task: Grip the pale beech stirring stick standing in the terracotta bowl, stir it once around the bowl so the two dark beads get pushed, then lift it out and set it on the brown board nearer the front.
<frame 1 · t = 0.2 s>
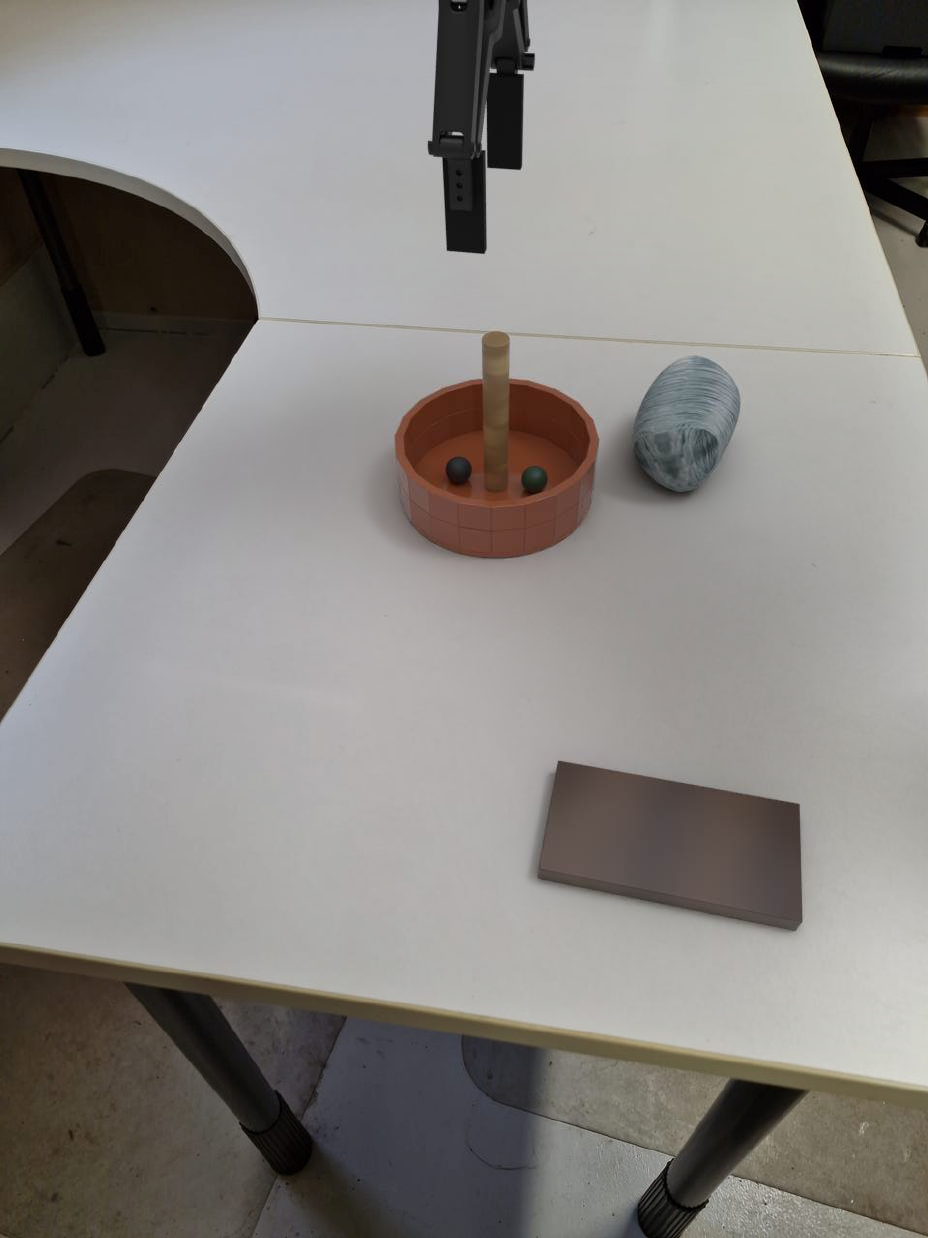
hand: (486, 206, 64), 24 cm above the table, tool pointing down, fingers open, 13 cm apart
bowl: (496, 489, 79), on the table
blue yarn skein: (677, 456, 81), on the table
bead b: (534, 479, 77), point 2 cm above the table, touching bowl
stick: (496, 484, 78), point 1 cm above the table, touching bowl
bead a: (458, 469, 78), point 2 cm above the table, touching bowl
brown board: (668, 845, 56), on the table
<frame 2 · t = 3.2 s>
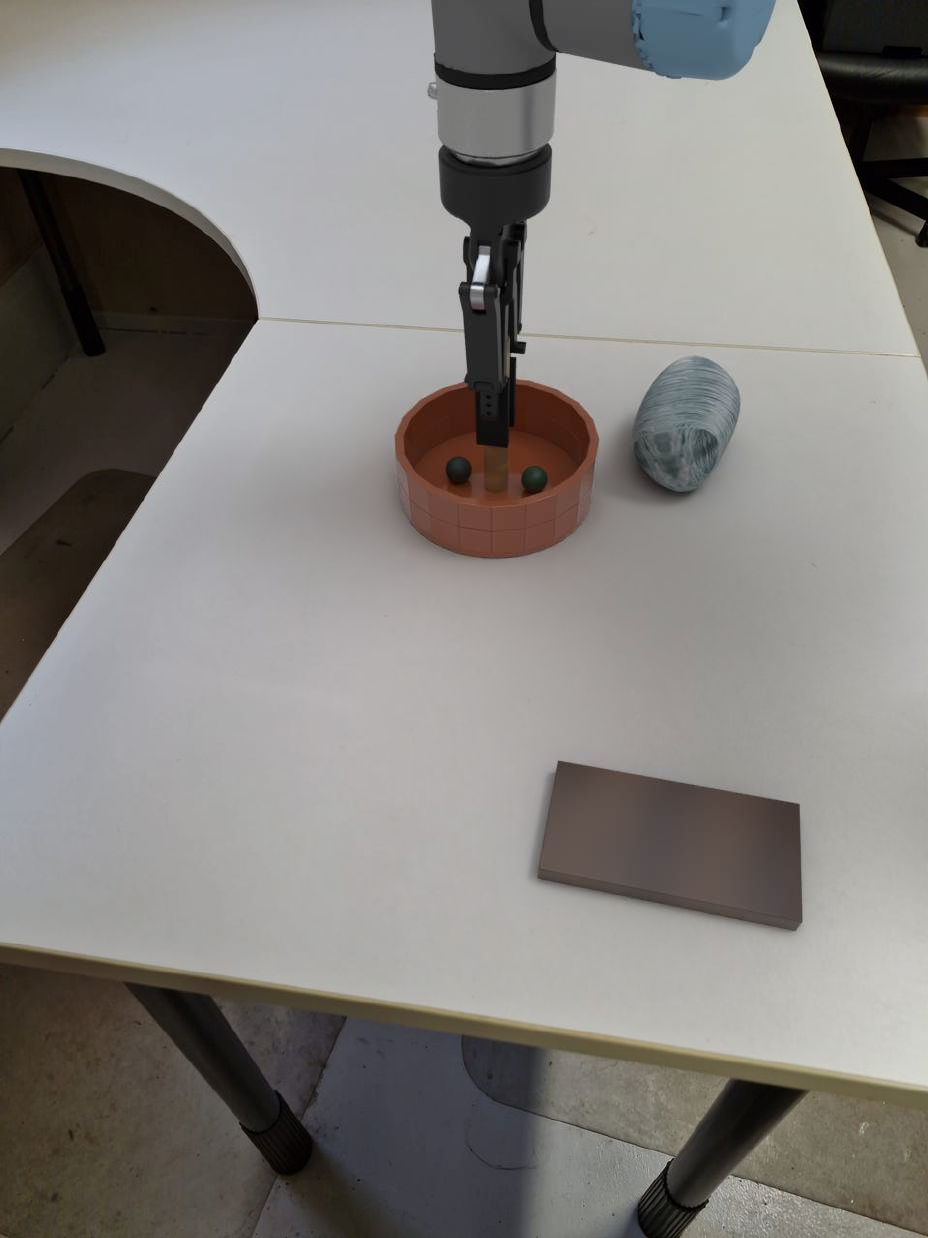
hand: (496, 432, 74), 6 cm above the table, tool pointing down, fingers closed on stick, 2 cm apart
stick: (496, 484, 78), point 1 cm above the table, touching bowl, gripper
everything else where it was.
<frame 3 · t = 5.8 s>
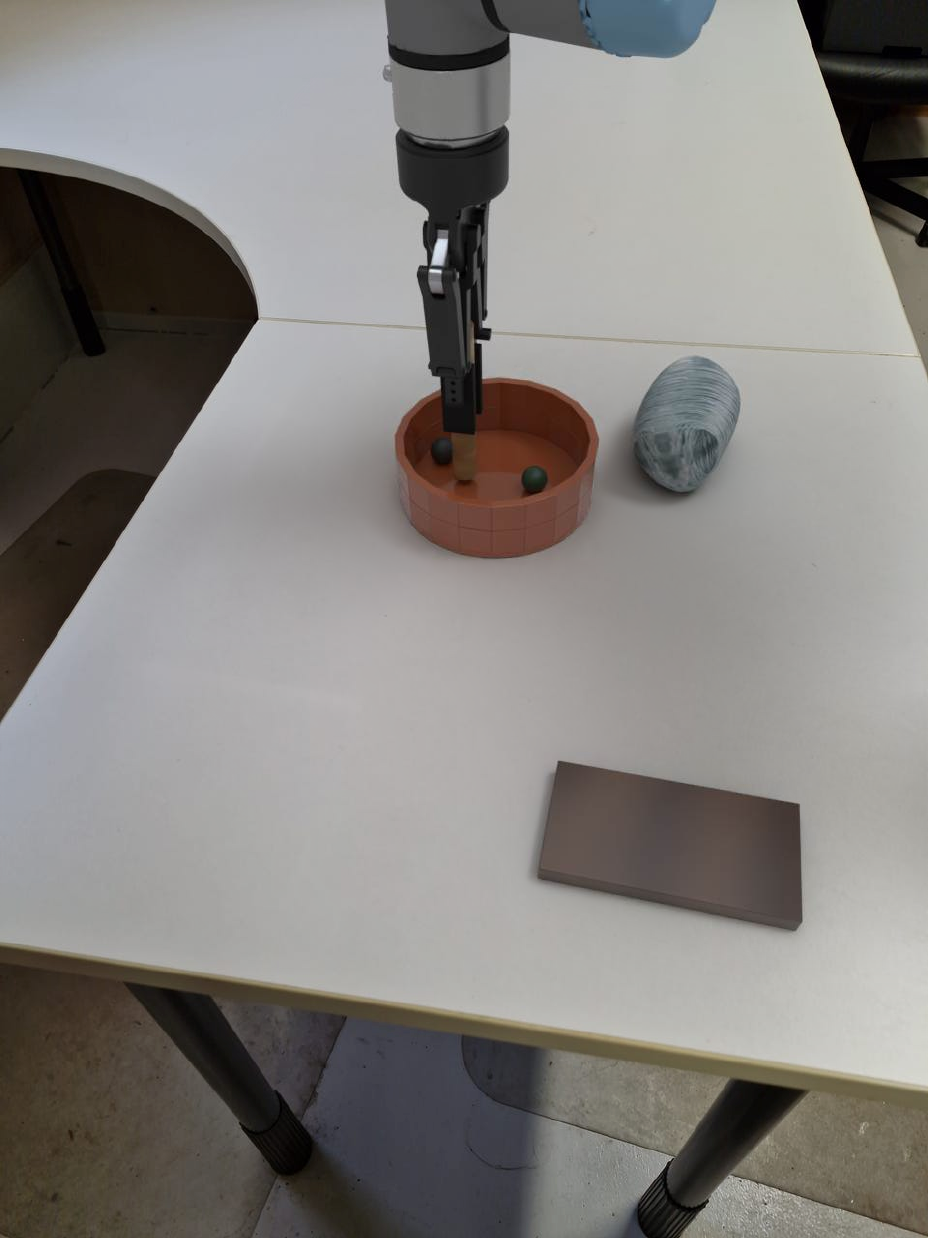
hand: (463, 419, 74), 7 cm above the table, tool pointing down, fingers closed on stick, 2 cm apart
stick: (465, 472, 78), point 1 cm above the table, touching gripper
bead a: (443, 450, 80), point 2 cm above the table, tilted 149°, touching bowl
everything else where it was.
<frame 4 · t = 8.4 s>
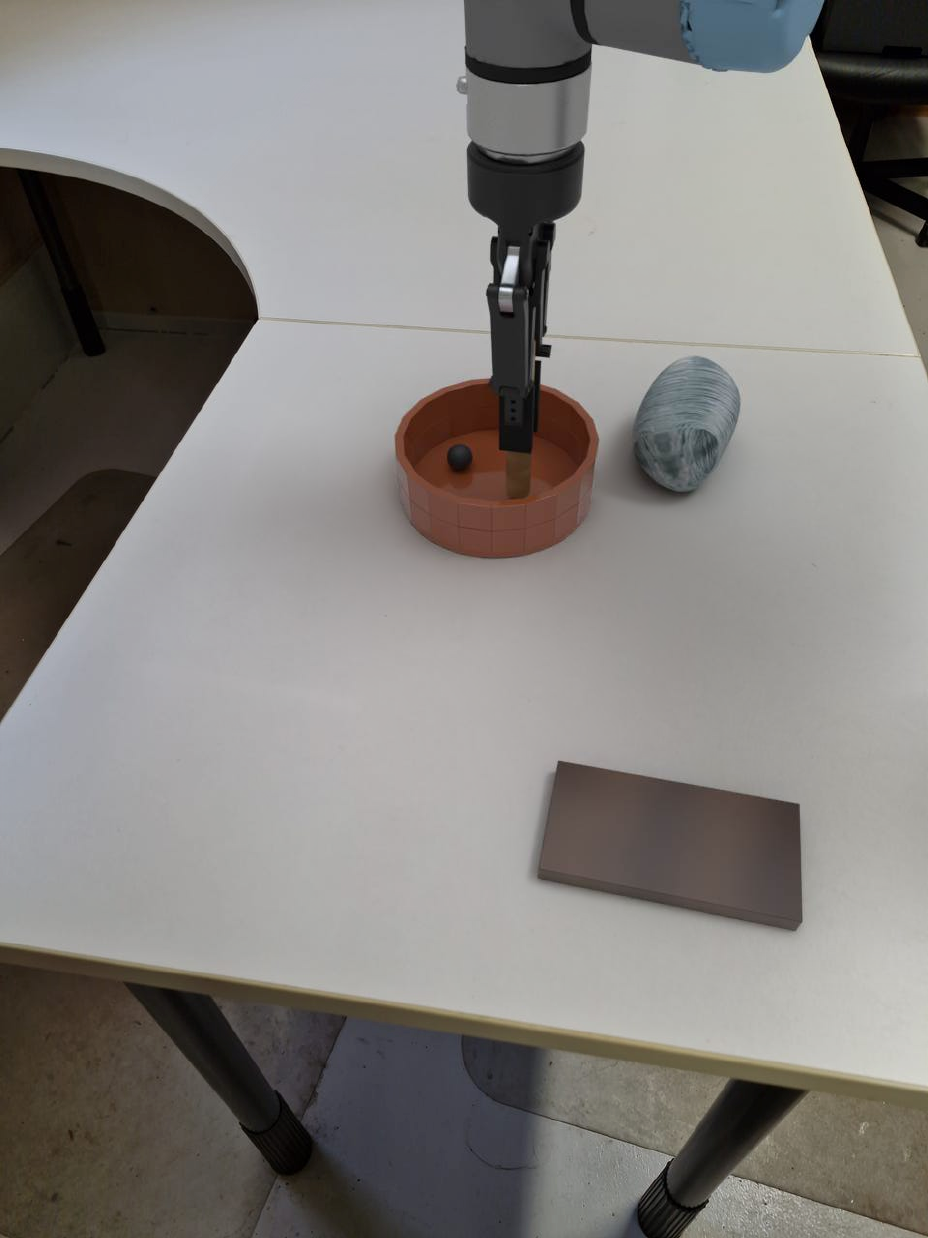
hand: (518, 437, 72), 7 cm above the table, tool pointing down, fingers closed on stick, 2 cm apart
bead b: (557, 506, 75), point 2 cm above the table, tilted 166°, touching bowl
stick: (517, 490, 77), point 1 cm above the table, touching gripper
bead a: (459, 457, 79), point 2 cm above the table, tilted 65°, touching bowl
everything else where it was.
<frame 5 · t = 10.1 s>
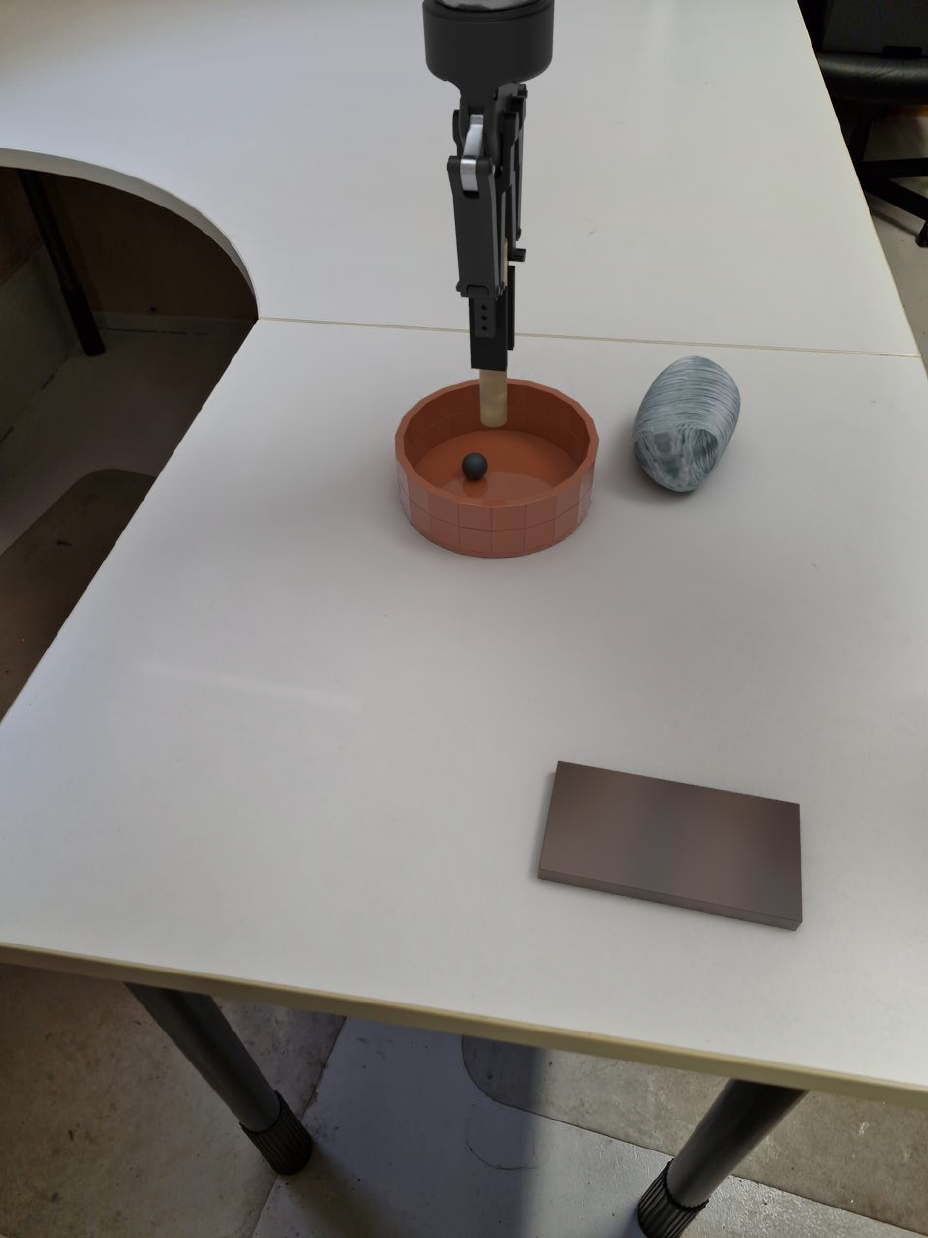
hand: (493, 356, 66), 15 cm above the table, tool pointing down, fingers closed on stick, 2 cm apart
bead b: (554, 504, 75), point 2 cm above the table, tilted 173°, touching bowl
stick: (493, 419, 70), point 9 cm above the table, touching gripper
bead a: (474, 465, 78), point 2 cm above the table, tilted 26°, touching bowl
everything else where it was.
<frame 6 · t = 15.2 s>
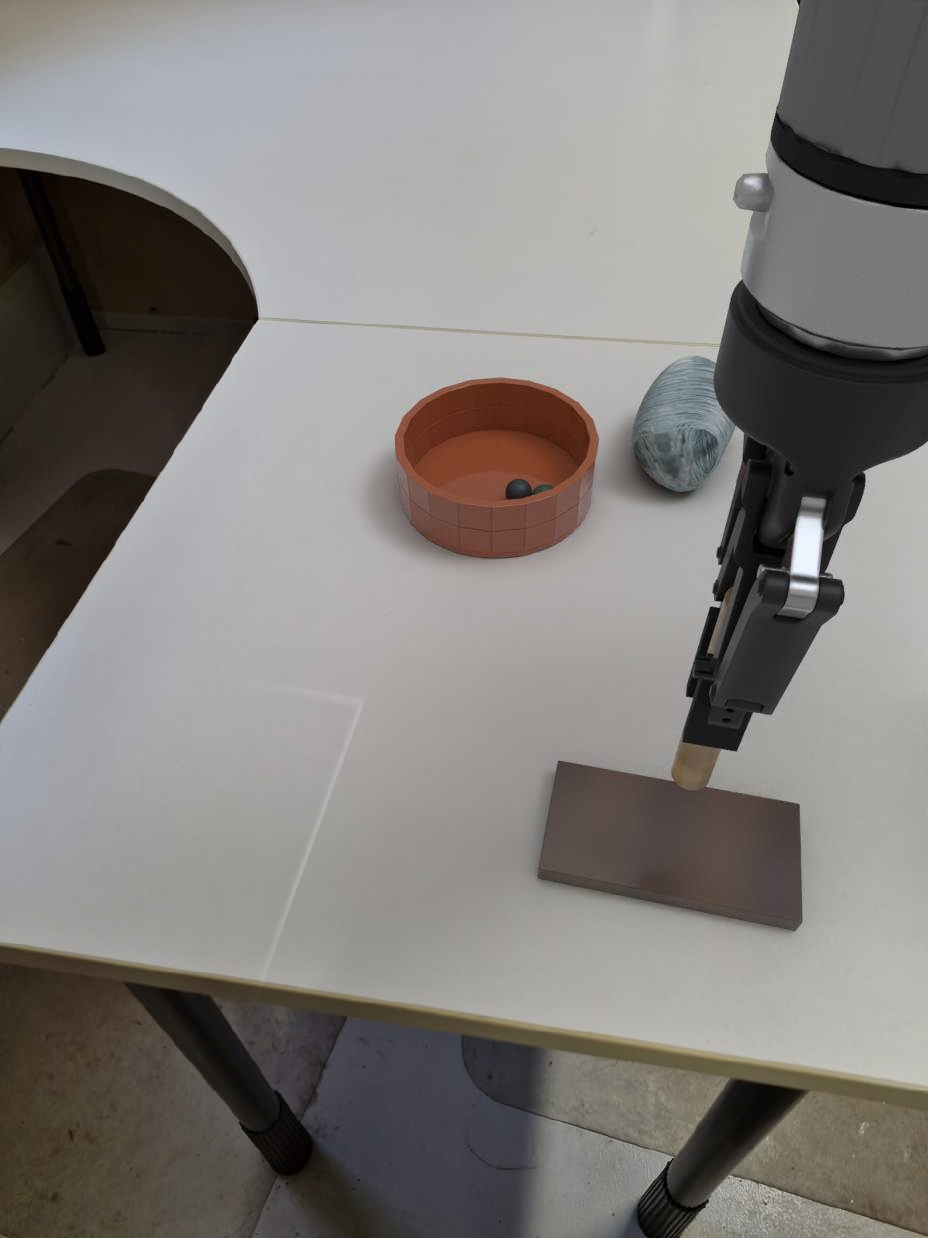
hand: (711, 717, 44), 15 cm above the table, tool pointing down, fingers closed on stick, 2 cm apart
bead b: (544, 497, 75), point 2 cm above the table, tilted 120°, touching bowl
stick: (690, 773, 49), point 9 cm above the table, touching gripper
bead a: (518, 492, 76), point 2 cm above the table, tilted 78°, touching bowl
everything else where it was.
when the fingers open (7 cm above the table, at t = 17.2 s): stick stays where it is, resting on brown board.
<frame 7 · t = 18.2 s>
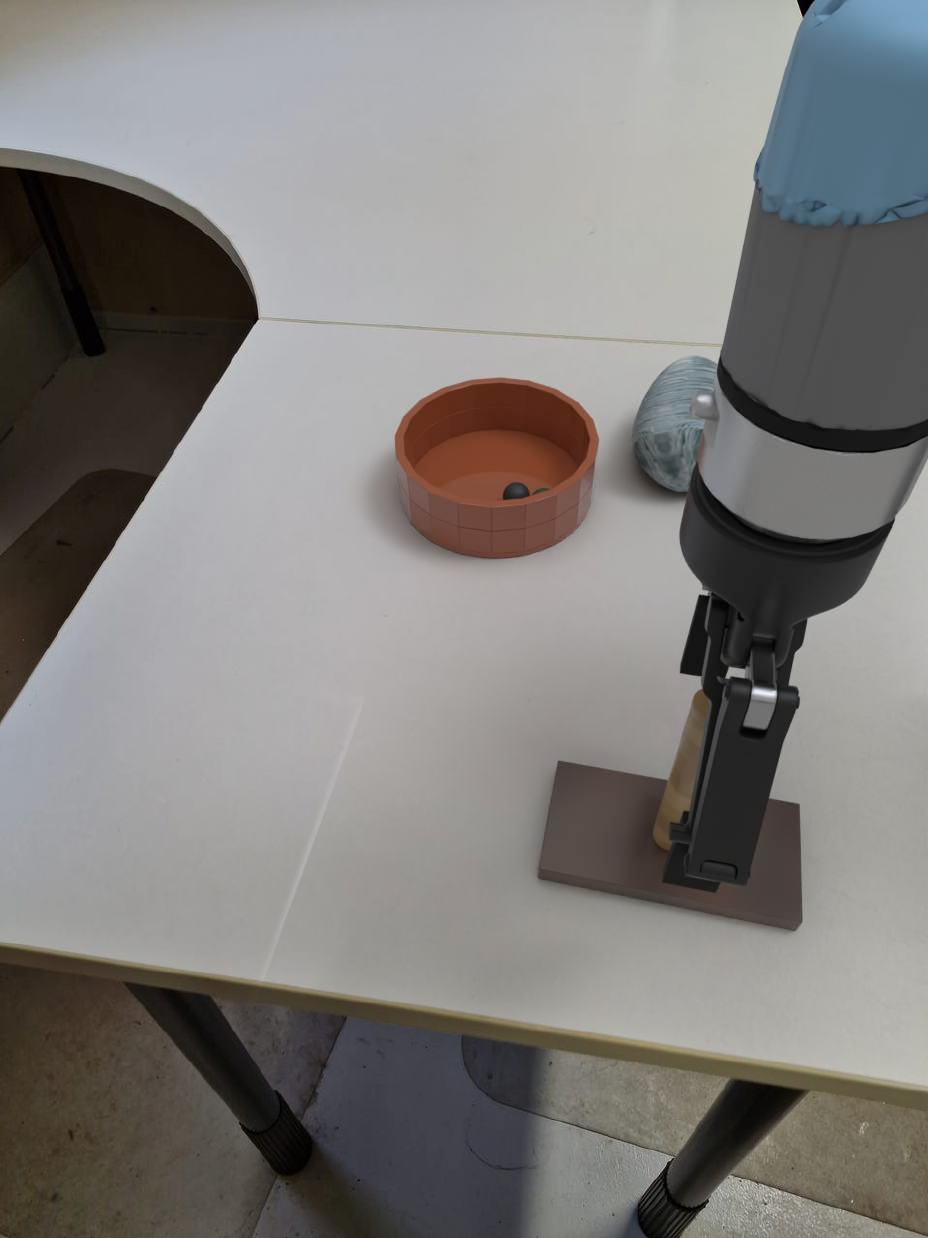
hand: (696, 767, 48), 10 cm above the table, tool pointing down, fingers open, 13 cm apart
bead b: (543, 501, 75), point 2 cm above the table, tilted 128°, touching bowl
stick: (669, 835, 55), point 1 cm above the table, touching brown board
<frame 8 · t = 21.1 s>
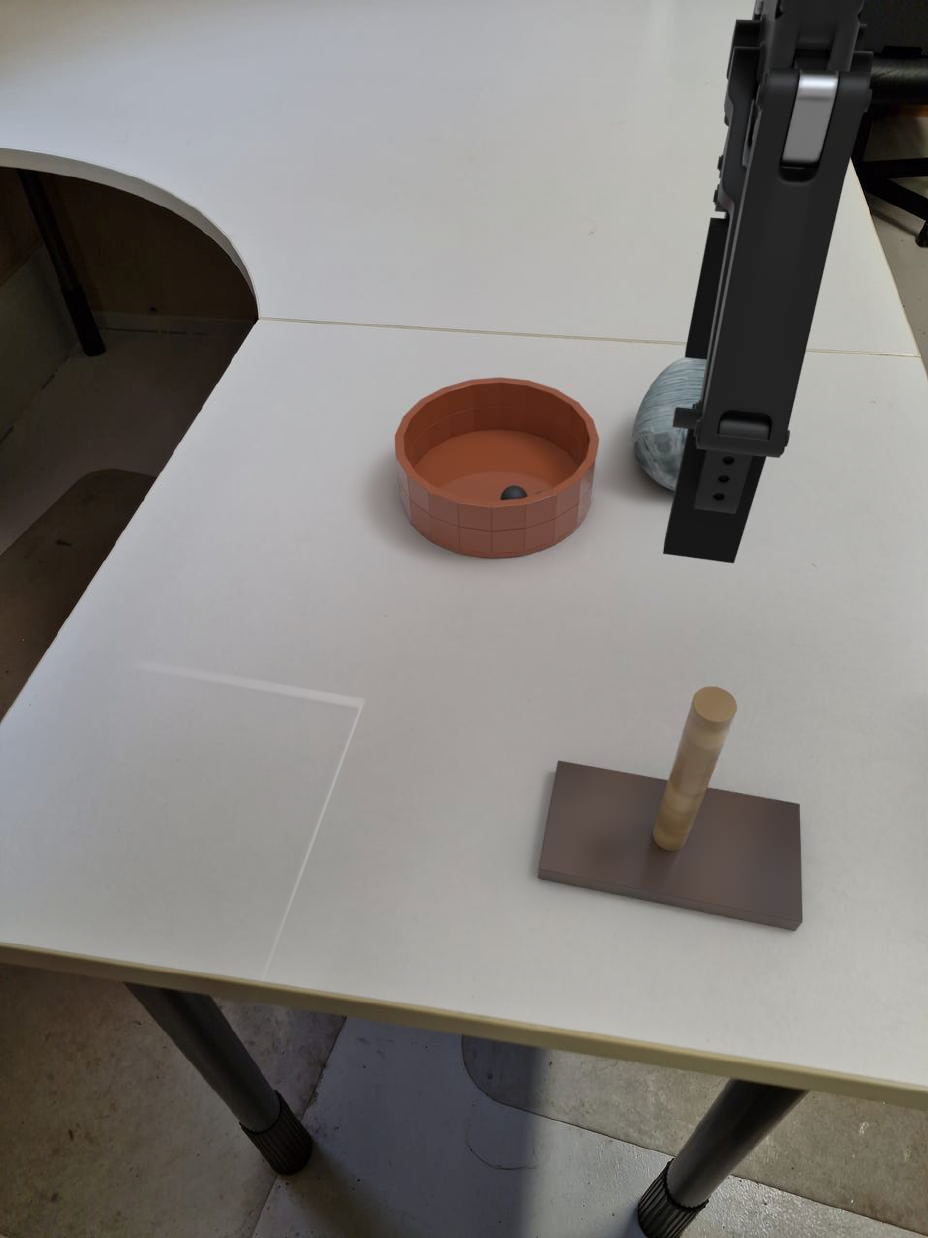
hand: (706, 443, 38), 29 cm above the table, tool pointing down, fingers open, 13 cm apart
at the end: stick inside the target area on the brown board (0.1 cm from its centre), point 1.5 cm above the brown board's base; bead a moved 6.4 cm from its start; the gripper is holding nothing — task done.
